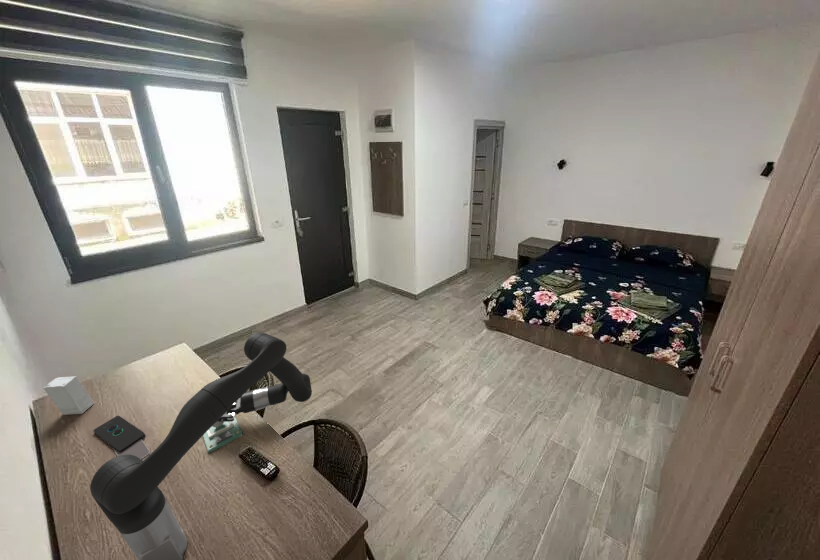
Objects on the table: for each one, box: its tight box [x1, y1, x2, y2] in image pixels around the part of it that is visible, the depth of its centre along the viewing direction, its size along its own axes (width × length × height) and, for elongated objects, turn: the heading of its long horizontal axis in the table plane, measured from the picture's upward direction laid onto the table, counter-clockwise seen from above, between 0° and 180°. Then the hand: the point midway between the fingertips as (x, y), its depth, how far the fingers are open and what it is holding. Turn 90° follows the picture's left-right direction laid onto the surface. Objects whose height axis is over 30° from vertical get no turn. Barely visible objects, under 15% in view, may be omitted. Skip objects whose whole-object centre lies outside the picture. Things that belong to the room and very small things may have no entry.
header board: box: [202, 416, 243, 454], centre depth 119 cm, size 18×11×2 cm, turn 40°
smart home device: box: [93, 415, 146, 452], centre depth 118 cm, size 8×2×20 cm
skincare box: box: [43, 375, 95, 416], centre depth 127 cm, size 8×6×15 cm
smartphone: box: [112, 439, 151, 460], centre depth 113 cm, size 7×1×15 cm
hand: (205, 413), depth 116 cm, fingers closed on rook chess piece, 3 cm apart
